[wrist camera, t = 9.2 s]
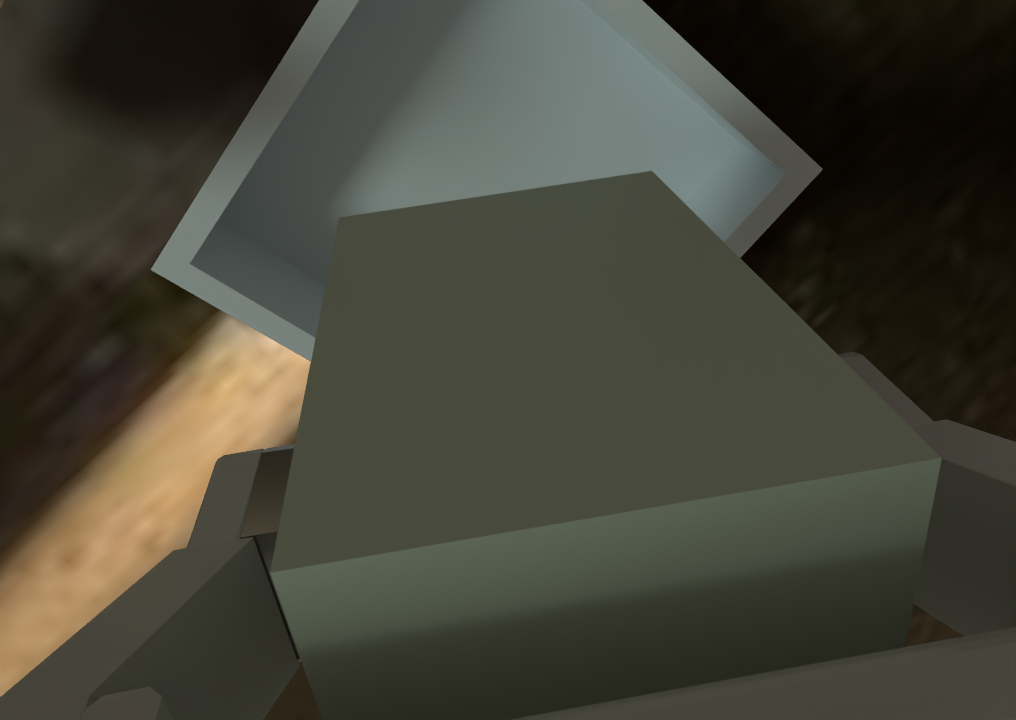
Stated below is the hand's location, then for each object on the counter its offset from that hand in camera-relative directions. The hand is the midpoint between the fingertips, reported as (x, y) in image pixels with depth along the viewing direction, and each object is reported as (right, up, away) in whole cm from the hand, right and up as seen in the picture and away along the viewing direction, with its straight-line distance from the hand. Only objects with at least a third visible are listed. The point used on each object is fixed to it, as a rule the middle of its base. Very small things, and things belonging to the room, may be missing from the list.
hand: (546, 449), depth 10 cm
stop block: (0, +1, +3) cm, 3 cm away
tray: (-1, +6, +11) cm, 13 cm away
